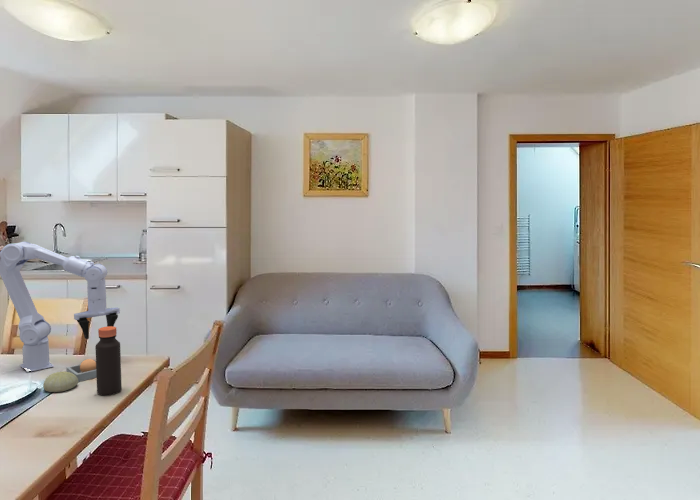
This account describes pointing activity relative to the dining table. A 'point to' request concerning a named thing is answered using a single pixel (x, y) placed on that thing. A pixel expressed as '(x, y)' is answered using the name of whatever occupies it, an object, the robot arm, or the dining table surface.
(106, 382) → the bottle
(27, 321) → the robot arm
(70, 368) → the corral
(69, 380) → the sea urchin shell
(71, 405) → the dining table surface
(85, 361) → the ball
